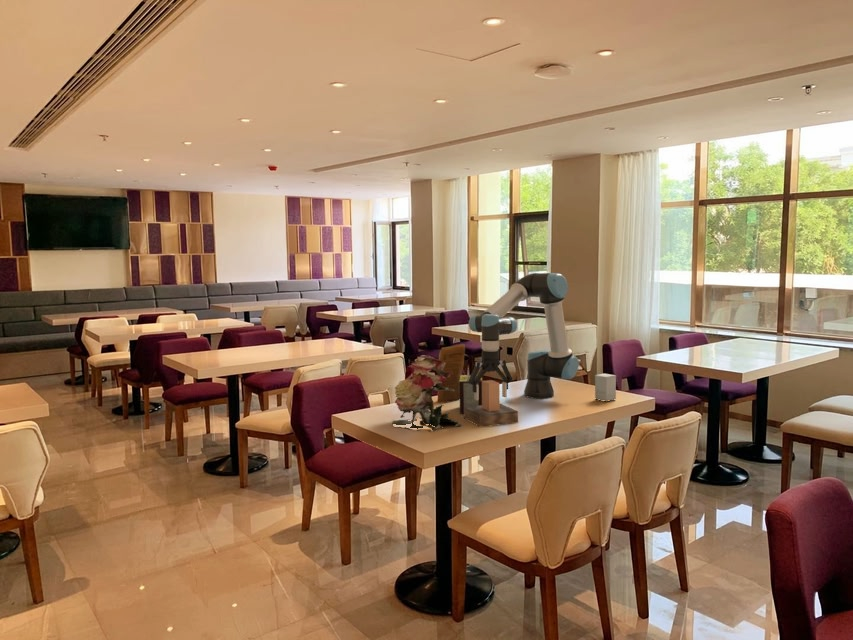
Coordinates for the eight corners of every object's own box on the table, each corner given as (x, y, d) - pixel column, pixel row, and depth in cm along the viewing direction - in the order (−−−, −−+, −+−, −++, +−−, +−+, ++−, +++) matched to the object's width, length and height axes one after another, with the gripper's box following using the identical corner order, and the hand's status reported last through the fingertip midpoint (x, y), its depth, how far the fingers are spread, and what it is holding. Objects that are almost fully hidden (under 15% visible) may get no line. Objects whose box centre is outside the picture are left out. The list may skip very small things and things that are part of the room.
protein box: (482, 407, 301) (482, 374, 300) (482, 414, 286) (482, 381, 284) (460, 406, 302) (460, 374, 300) (459, 414, 287) (459, 380, 285)
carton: (499, 410, 272) (499, 382, 271) (489, 411, 271) (489, 383, 270) (492, 406, 279) (492, 380, 278) (481, 407, 277) (481, 381, 276)
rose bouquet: (421, 414, 289) (420, 349, 286) (467, 425, 268) (467, 355, 265) (377, 424, 271) (376, 355, 269) (423, 437, 250) (422, 362, 247)
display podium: (500, 414, 286) (500, 403, 285) (517, 422, 271) (517, 411, 270) (464, 418, 279) (464, 407, 279) (480, 426, 264) (480, 415, 264)
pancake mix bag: (469, 398, 319) (469, 343, 317) (441, 404, 308) (440, 347, 305) (460, 396, 325) (460, 342, 322) (432, 402, 313) (431, 346, 310)
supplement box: (616, 400, 311) (616, 375, 310) (606, 402, 307) (606, 376, 306) (604, 397, 317) (604, 373, 316) (594, 399, 313) (594, 374, 312)
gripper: (511, 347, 280) (511, 394, 282) (460, 350, 271) (460, 399, 273) (520, 349, 273) (520, 397, 275) (467, 352, 264) (468, 402, 266)
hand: (490, 398), depth 274 cm, fingers open, 13 cm apart
